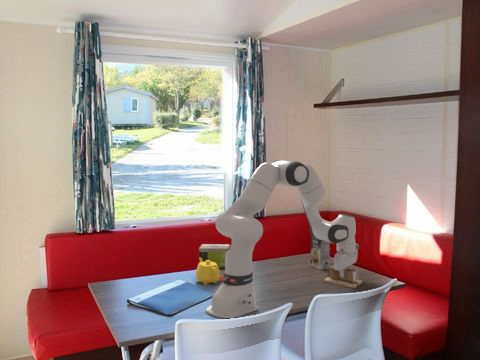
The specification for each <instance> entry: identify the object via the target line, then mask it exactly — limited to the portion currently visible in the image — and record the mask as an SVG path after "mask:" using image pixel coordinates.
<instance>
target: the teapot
mask: <svg viewBox="0 0 480 360" xmlns="http://www.w3.org/2000/svg"><path fill="white" fill-rule="evenodd" d="M199 259H200V263H199V262H198V264H197V267H196V270H195V278H196V280H197V281H198V282H199V283H203V284H204V286H207V285H209V284H210V283H211V284H212V283H213V284H218V282H219V276H220V270H219V268H218V265H217V264H216V263H215V262H212V261H210V260H206V262H203V260H202V258H201V257H199V256H198V260H199Z"/></svg>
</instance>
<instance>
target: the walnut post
mask: <svg viewBox="0 0 480 360" xmlns="http://www.w3.org/2000/svg"><path fill="white" fill-rule="evenodd" d="M326 271H327V272H326V273H327V274H326V275H327V277H326V278H328V277H332V278H338V279H343V280H348V281H353V282H355V281H357V280H359V269H352V268H351V269H348V268H345V270H344V273H345V277H341V276H340V271H338V270H334V265H329V267H328V269H327V270H326Z"/></svg>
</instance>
